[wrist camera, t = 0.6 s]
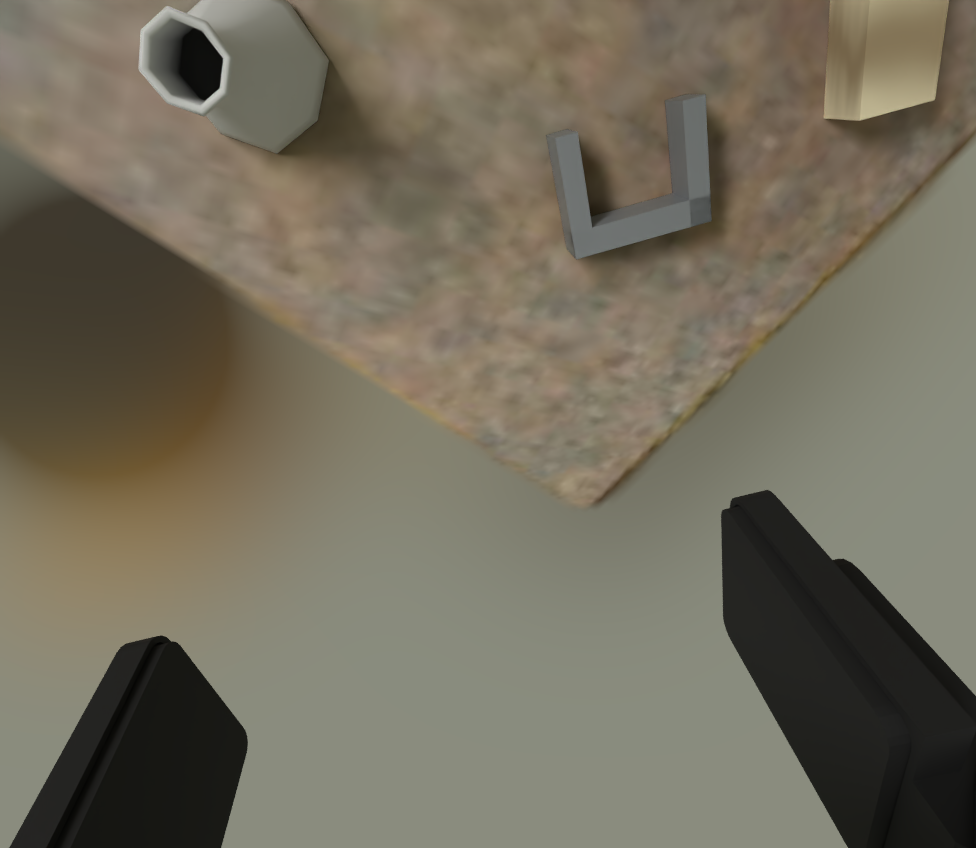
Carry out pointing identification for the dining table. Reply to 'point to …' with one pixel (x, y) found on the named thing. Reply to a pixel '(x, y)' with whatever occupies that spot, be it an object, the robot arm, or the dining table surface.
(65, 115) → the dining table surface
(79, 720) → the robot arm
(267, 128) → the flask
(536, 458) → the dining table surface
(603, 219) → the end cap
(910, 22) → the birch slat
